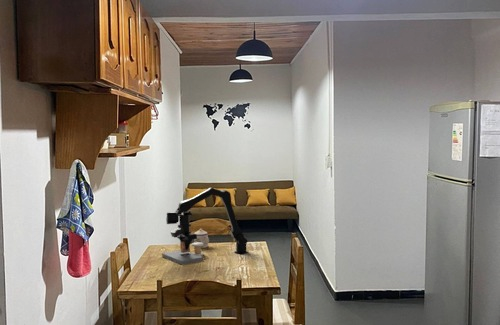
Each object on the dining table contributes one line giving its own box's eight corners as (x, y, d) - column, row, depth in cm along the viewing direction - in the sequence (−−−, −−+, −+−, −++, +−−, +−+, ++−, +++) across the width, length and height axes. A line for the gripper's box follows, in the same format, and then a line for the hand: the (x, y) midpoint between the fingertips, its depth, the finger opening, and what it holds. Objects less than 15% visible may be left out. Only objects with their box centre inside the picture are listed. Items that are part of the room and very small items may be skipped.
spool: (205, 255, 281) (205, 243, 281) (195, 257, 277) (195, 245, 277) (199, 253, 287) (199, 241, 287) (189, 254, 283) (189, 243, 282)
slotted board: (203, 260, 269) (203, 257, 269) (181, 264, 261) (181, 261, 261) (183, 252, 288) (183, 249, 288) (162, 256, 280) (162, 253, 280)
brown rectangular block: (189, 251, 276) (189, 241, 275) (183, 252, 273) (182, 242, 273) (187, 250, 278) (187, 240, 278) (180, 252, 275) (180, 241, 275)
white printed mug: (191, 247, 304) (190, 229, 303) (202, 244, 310) (201, 227, 309) (203, 249, 295) (202, 231, 295) (214, 247, 302) (213, 229, 301)
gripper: (164, 222, 277) (165, 248, 278) (179, 226, 262) (180, 254, 263) (181, 220, 284) (182, 245, 285) (197, 224, 269) (197, 251, 270)
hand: (185, 249), depth 276 cm, fingers closed on brown rectangular block, 3 cm apart
